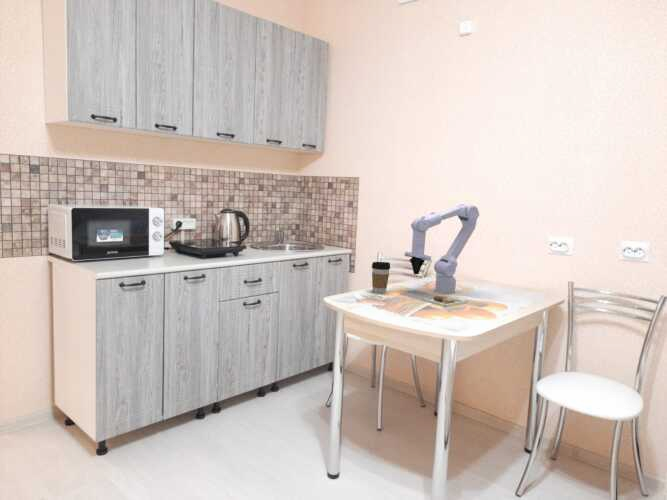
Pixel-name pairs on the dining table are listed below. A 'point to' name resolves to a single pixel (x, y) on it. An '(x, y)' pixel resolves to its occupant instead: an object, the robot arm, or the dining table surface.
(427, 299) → the tray
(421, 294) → the slate board
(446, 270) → the robot arm
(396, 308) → the dining table surface
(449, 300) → the oak tile
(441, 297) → the walnut tile
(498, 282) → the dining table surface
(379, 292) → the coffee cup
